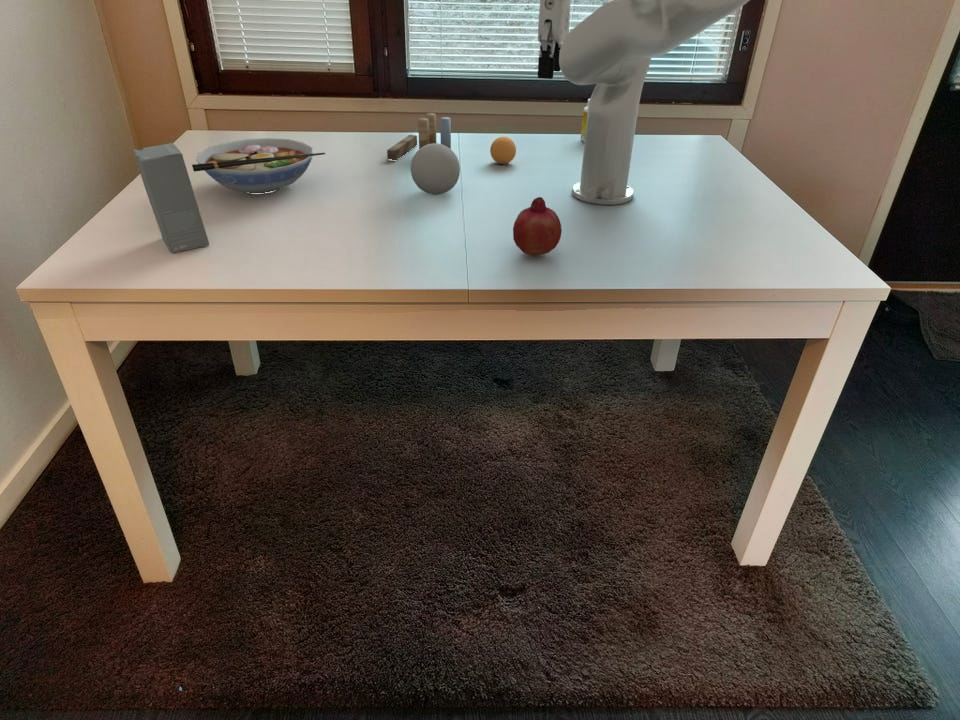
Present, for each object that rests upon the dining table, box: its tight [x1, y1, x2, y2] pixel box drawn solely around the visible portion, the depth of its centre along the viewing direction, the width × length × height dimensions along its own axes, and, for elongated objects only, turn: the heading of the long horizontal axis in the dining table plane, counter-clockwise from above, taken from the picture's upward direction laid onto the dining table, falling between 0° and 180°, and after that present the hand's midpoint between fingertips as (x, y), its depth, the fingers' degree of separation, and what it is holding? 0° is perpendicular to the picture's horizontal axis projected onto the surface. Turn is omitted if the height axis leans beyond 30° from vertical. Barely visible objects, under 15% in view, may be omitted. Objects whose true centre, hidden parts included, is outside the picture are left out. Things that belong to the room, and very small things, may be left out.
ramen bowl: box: [191, 137, 326, 194], centre depth 132 cm, size 25×23×8 cm
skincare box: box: [132, 142, 210, 254], centre depth 107 cm, size 8×7×16 cm
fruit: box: [512, 196, 563, 256], centre depth 106 cm, size 8×8×10 cm
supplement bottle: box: [580, 98, 590, 143], centre depth 165 cm, size 6×6×10 cm
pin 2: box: [425, 112, 437, 144], centre depth 154 cm, size 2×2×9 cm
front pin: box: [439, 116, 452, 150], centre depth 151 cm, size 2×2×9 cm
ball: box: [410, 142, 461, 196], centre depth 130 cm, size 10×10×10 cm
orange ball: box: [489, 136, 517, 165], centre depth 149 cm, size 6×6×6 cm
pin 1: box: [417, 117, 429, 150], centre depth 150 cm, size 2×2×9 cm
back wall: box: [386, 134, 418, 161], centre depth 155 cm, size 14×2×2 cm, turn 164°
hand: (549, 74), depth 137 cm, fingers open, 7 cm apart
